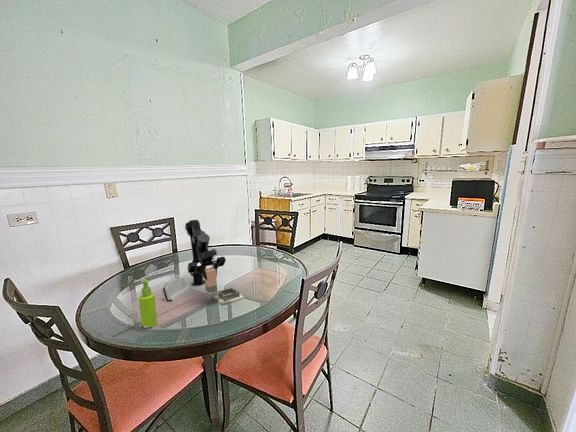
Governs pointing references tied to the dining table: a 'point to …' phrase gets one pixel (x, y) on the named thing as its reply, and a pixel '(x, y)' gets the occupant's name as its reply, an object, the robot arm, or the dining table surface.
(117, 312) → the dining table surface
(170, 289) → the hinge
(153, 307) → the soap dispenser
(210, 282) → the brown rectangular block
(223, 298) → the square socket base
